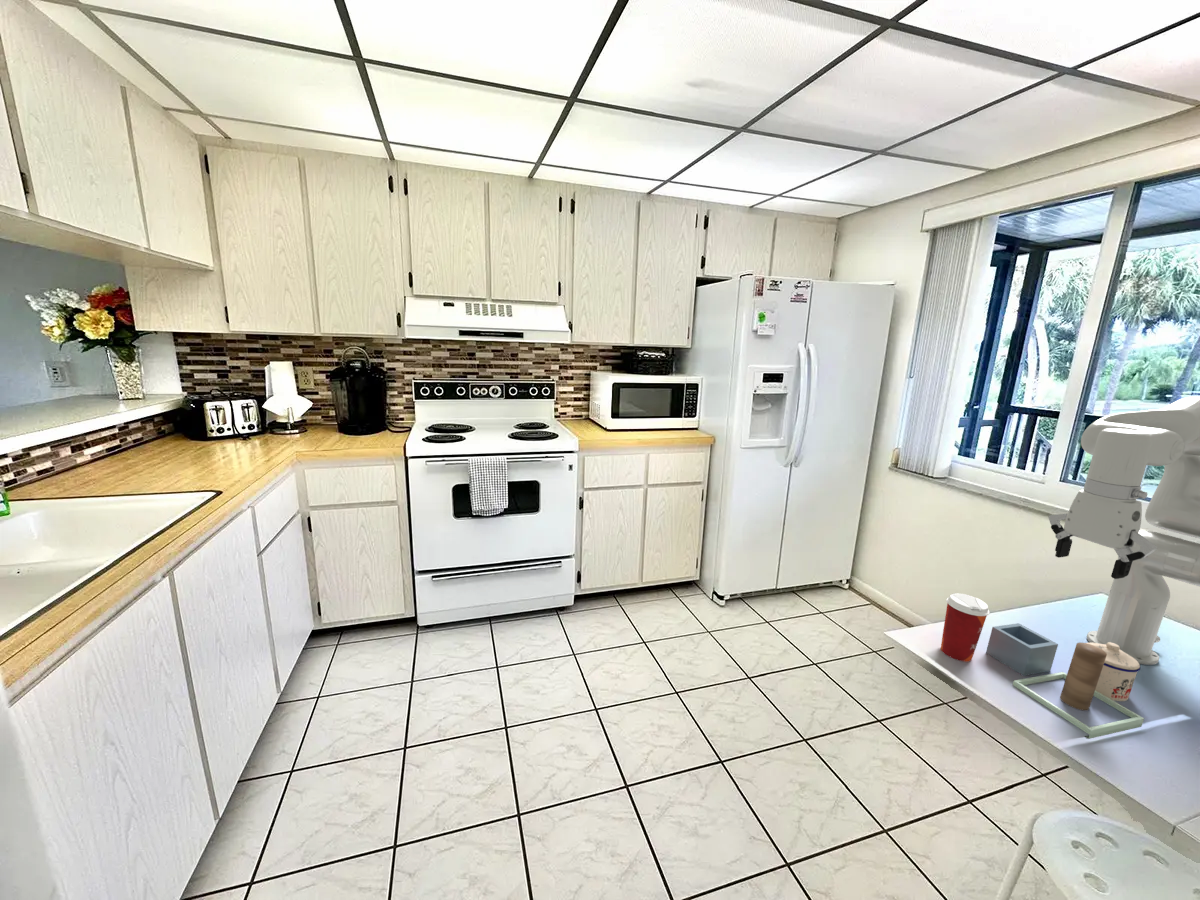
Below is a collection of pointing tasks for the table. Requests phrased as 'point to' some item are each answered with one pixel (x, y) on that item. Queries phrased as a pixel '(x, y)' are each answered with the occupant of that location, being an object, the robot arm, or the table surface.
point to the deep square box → (1021, 649)
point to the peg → (1083, 676)
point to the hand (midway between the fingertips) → (1088, 566)
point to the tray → (1092, 731)
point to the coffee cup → (963, 626)
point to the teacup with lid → (1116, 672)
